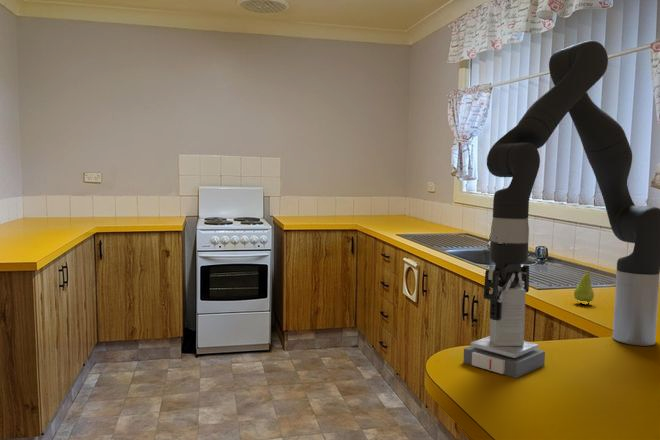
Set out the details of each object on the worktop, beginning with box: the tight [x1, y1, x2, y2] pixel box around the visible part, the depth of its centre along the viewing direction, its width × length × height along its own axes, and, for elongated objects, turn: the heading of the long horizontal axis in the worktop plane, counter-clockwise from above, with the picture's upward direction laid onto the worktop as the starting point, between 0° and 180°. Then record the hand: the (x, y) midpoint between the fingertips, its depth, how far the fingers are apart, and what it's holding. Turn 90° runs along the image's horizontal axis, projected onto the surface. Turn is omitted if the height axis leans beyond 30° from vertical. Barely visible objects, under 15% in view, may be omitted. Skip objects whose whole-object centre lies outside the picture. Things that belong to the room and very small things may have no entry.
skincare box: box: [489, 286, 527, 346], centre depth 114 cm, size 6×4×12 cm
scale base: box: [463, 345, 546, 379], centre depth 114 cm, size 13×12×3 cm
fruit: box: [573, 267, 595, 302], centre depth 173 cm, size 6×6×12 cm
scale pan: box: [470, 335, 540, 358], centre depth 114 cm, size 10×10×1 cm
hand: (505, 316), depth 114 cm, fingers open, 8 cm apart
